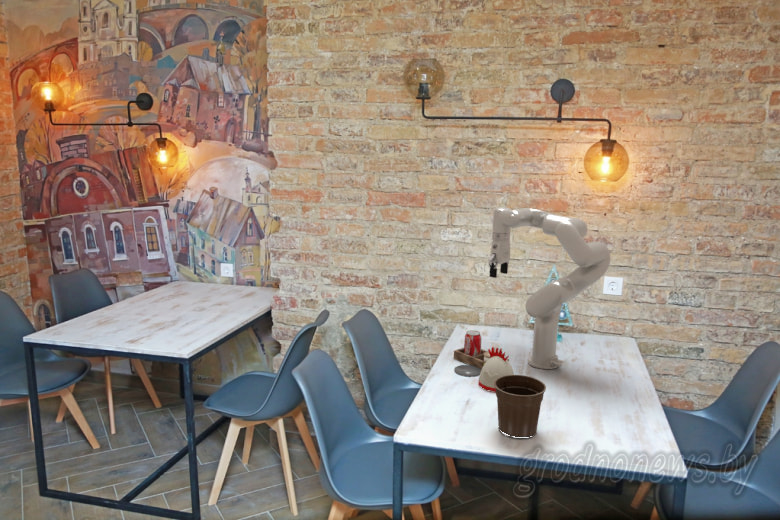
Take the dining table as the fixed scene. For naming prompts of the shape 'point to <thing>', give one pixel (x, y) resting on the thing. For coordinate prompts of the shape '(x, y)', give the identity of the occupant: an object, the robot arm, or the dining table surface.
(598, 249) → the robot arm
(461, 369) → the coaster
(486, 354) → the sugar jar
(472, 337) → the soda can
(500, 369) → the beige crested helmet
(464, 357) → the caddy
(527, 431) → the plant pot
